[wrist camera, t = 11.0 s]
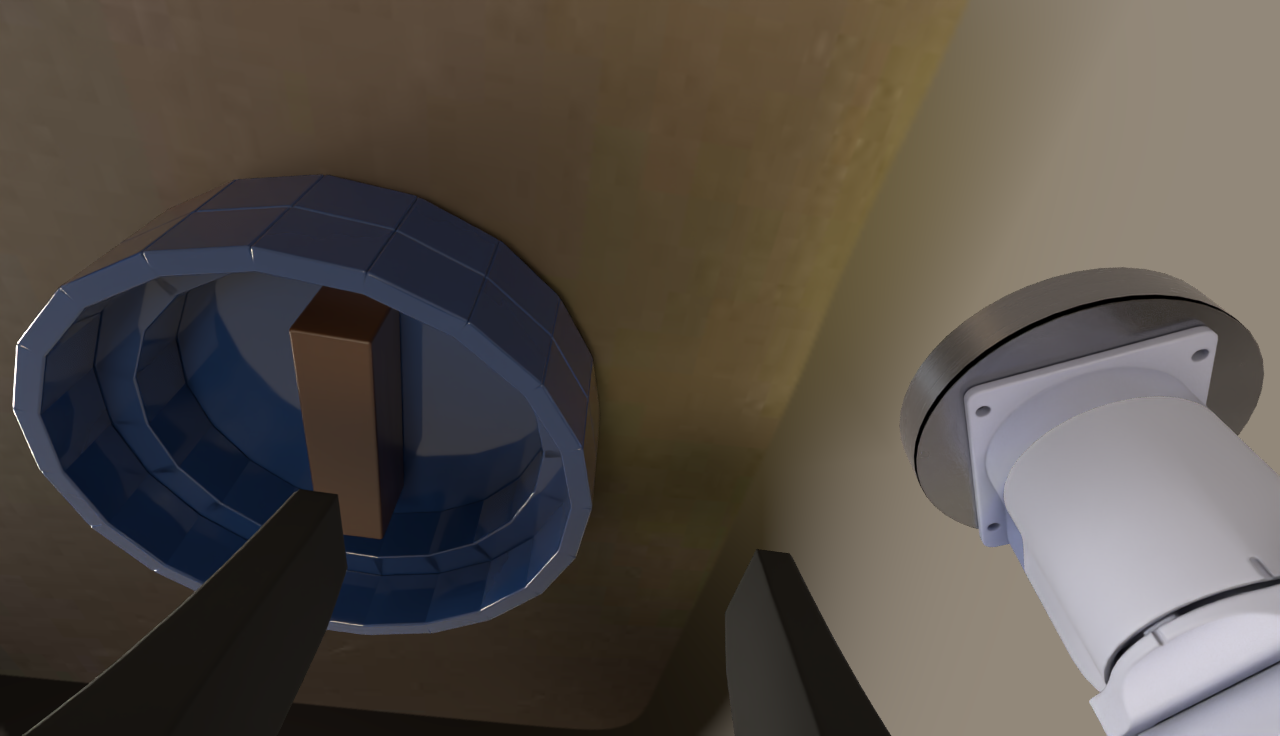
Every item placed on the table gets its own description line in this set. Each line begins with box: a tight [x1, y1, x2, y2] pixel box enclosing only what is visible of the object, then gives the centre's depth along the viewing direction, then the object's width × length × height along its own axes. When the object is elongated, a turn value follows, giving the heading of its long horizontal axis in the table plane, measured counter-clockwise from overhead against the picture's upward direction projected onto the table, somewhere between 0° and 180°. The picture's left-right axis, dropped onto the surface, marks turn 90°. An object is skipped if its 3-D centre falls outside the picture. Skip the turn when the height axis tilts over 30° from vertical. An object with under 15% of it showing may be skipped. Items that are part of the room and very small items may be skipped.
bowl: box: [13, 174, 600, 635], centre depth 19 cm, size 14×14×4 cm
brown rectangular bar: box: [289, 286, 404, 539], centre depth 19 cm, size 8×2×2 cm, turn 168°
